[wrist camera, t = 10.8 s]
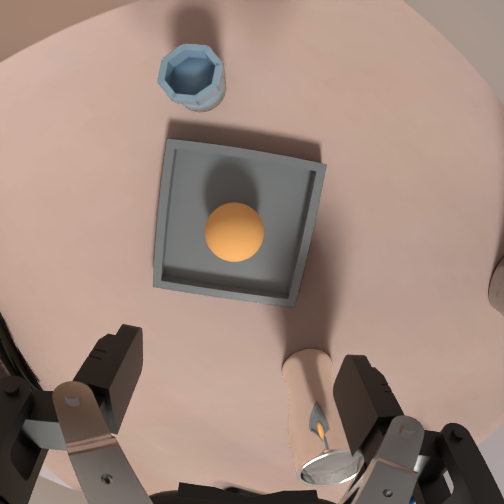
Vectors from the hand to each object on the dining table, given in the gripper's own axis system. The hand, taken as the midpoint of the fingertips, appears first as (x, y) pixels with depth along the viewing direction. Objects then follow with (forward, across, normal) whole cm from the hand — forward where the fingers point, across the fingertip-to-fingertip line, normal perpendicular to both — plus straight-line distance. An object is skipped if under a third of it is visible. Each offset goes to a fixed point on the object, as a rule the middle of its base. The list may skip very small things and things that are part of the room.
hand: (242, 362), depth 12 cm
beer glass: (+20, -10, +15) cm, 27 cm away
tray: (+19, +1, -1) cm, 19 cm away
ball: (+16, +1, -1) cm, 16 cm away
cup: (+19, +6, -13) cm, 24 cm away
